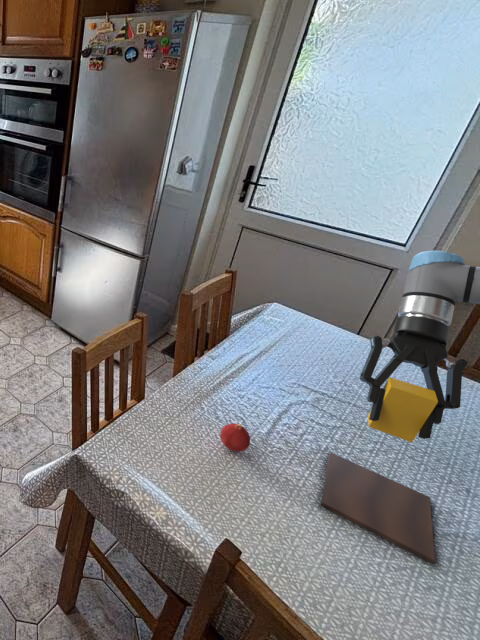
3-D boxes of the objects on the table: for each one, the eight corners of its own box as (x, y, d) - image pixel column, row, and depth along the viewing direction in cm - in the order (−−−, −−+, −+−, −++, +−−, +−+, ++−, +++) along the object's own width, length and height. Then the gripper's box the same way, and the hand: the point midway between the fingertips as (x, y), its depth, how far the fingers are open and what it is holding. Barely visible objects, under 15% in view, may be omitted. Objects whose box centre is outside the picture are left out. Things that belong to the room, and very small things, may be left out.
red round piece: (218, 434, 100) (226, 410, 97) (246, 445, 97) (255, 421, 93) (215, 451, 96) (223, 426, 92) (244, 463, 93) (254, 439, 89)
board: (427, 500, 84) (429, 497, 84) (432, 564, 74) (435, 560, 74) (328, 454, 94) (330, 451, 94) (320, 505, 84) (322, 502, 83)
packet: (409, 431, 84) (434, 391, 80) (411, 442, 82) (438, 401, 77) (367, 416, 88) (389, 376, 83) (368, 426, 86) (391, 386, 81)
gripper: (482, 343, 83) (460, 454, 79) (355, 311, 94) (330, 407, 90) (504, 334, 77) (482, 454, 73) (366, 301, 88) (339, 404, 84)
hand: (398, 428), depth 81 cm, fingers closed on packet, 6 cm apart
